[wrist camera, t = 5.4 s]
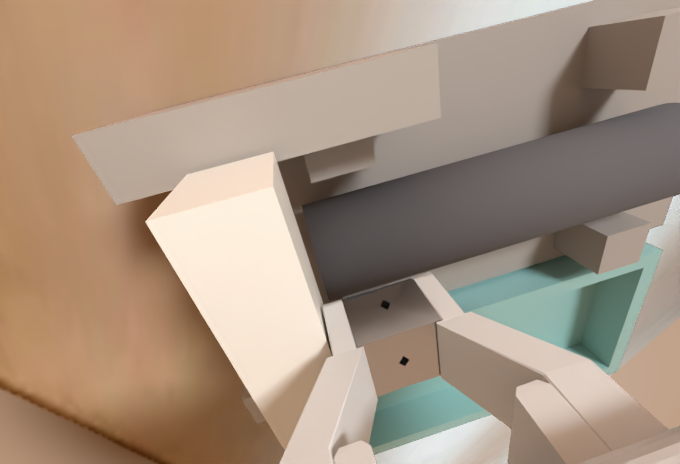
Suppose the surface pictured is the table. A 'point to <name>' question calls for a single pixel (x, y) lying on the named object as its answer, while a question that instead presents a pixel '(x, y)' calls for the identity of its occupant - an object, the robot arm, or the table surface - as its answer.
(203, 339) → the table surface
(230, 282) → the cream square beam
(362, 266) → the dark grey cylinder
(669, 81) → the cradle
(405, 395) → the tray
